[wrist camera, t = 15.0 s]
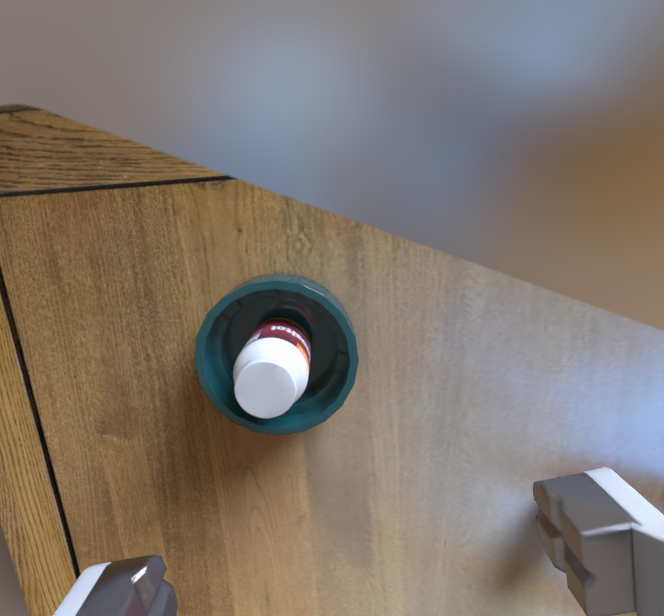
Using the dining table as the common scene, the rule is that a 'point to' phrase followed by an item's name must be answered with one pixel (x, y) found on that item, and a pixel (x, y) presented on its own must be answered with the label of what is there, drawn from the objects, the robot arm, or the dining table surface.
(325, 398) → the bowl
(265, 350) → the pill bottle
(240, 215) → the dining table surface
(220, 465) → the dining table surface
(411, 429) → the dining table surface
